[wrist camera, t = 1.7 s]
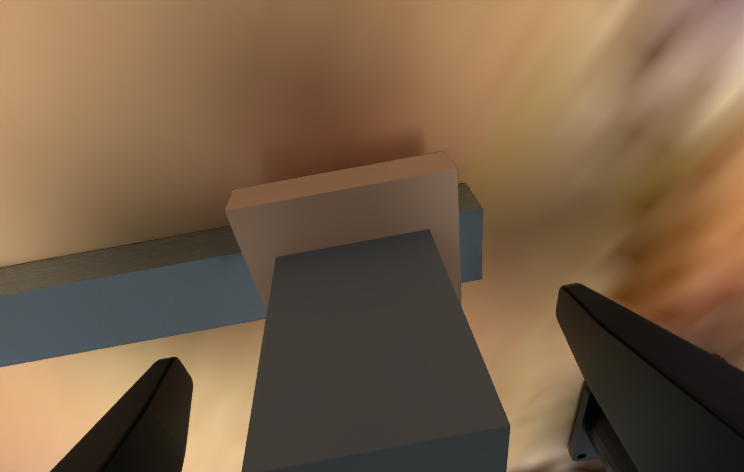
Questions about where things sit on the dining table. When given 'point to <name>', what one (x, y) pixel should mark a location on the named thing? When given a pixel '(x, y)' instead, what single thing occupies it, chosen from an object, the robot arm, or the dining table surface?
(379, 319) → the carriage
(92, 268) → the rail
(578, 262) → the dining table surface
